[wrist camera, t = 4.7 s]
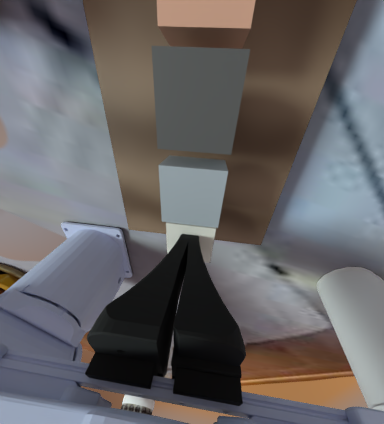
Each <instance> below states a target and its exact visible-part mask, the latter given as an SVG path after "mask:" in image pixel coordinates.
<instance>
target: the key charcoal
mask: <svg viewBox="0 0 384 424" xmlns="http://www.w3.org/2000/svg"><path fill="white" fill-rule="evenodd" d="M249 54H250V49H233V48H204V47H175V46H152V63H153V80H154V97H155V114H156V131H157V148H158V149H165V150H178V151H190V152H202V153H215V154H227V155H231V153H232V148H233V142H234V137H235V131H236V126H237V120H238V115H239V109H240V103H241V98H242V92H243V87H244V81H245V76H246V70H247V65H248V59H249Z"/></svg>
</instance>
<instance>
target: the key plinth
mask: <svg viewBox="0 0 384 424" xmlns="http://www.w3.org/2000/svg"><path fill="white" fill-rule="evenodd" d="M356 1H357V0H256V1H255V6H254V12H253V18H252V24H251V29H250V31H249V34H248V36H247V38H246V41H245V43H244V45H243V48H242V49H250V54H249V59H248V65H247V70H246V76H245V81H244V87H243V92H242V98H241V103H240V109H239V115H238V120H237V126H236V131H235V137H234V142H233V148H232V153H231V155H227V154H215V153H202V152H190V151H178V150H165V149H158V148H157V131H156V114H155V97H154V80H153V63H152V46H170V45H169V44H168V42H167V40H166V39H165V37H164V36H163V34H162V32H161V31H160V29H159V27H158V21H157V0H83V5H84V10H85V15H86V20H87V25H88V30H89V35H90V40H91V45H92V49H93V54H94V59H95V64H96V69H97V74H98V79H99V84H100V89H101V94H102V99H103V104H104V109H105V114H106V119H107V124H108V128H109V133H110V138H111V143H112V148H113V153H114V158H115V163H116V168H117V173H118V178H119V183H120V188H121V193H122V198H123V203H124V207H125V212H126V217H127V222H128V227H129V230H137V231H146V232H154V233H163V234H166V222H162V217H161V199H160V182H159V164H160V163H161V162H163V161H164V160H165V159H166V158H167V157H168V156H169V155H170V156H182V157H194V158H206V159H218V160H225V162H226V165H227V169H228V175H227V181H226V186H225V192H224V197H223V203H222V208H221V214H220V220H219V225H218V228H216V232H215V237H214V240H222V241H230V242H239V243H247V244H255V245H261V243H262V240H263V238H264V235H265V233H266V230H267V228H268V225H269V223H270V220H271V217H272V215H273V212H274V210H275V207H276V205H277V202H278V200H279V197H280V195H281V192H282V189H283V187H284V184H285V182H286V179H287V177H288V174H289V172H290V169H291V167H292V164H293V161H294V159H295V156H296V154H297V151H298V149H299V146H300V144H301V141H302V139H303V136H304V133H305V131H306V128H307V126H308V123H309V121H310V118H311V116H312V113H313V111H314V108H315V106H316V103H317V100H318V98H319V95H320V93H321V90H322V88H323V85H324V83H325V80H326V78H327V75H328V72H329V70H330V67H331V65H332V62H333V60H334V57H335V55H336V52H337V50H338V47H339V44H340V42H341V39H342V37H343V34H344V32H345V29H346V27H347V24H348V22H349V19H350V16H351V14H352V11H353V9H354V6H355V4H356Z"/></svg>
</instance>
